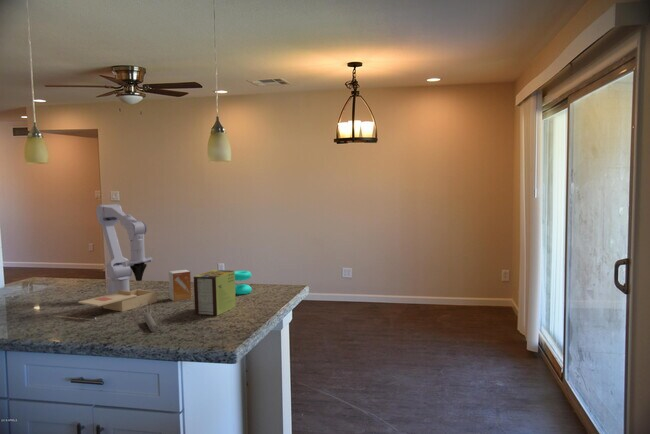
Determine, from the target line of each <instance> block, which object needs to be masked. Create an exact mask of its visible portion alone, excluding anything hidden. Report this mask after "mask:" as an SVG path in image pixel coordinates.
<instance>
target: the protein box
mask: <svg viewBox="0 0 650 434" xmlns="http://www.w3.org/2000/svg"><path fill="white" fill-rule="evenodd" d="M235 271H236V270H230V269H229V270H225V269H224V270H223V269H212V270H209V271H205V272H202V273H199V274H197V275H194V276H193V293H194V314H195V315H201V316H203V315H204V316H213V317H214V316H216V317H217V316H219V315H222V314H224V313H225V312H228V311H230V310H232V309H235V308H236V306H237V305H236V304H237V303H236V295H235V285H236V280H235Z"/></svg>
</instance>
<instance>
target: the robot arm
mask: <svg viewBox="0 0 650 434" xmlns="http://www.w3.org/2000/svg"><path fill="white" fill-rule="evenodd" d="M95 208H96V210H95V215H96V219H97V222H98V224H99V225H100V226H101V228H102V232H103V234H104V238H105V242H106V246H107V250H108V253H109V257H110V261H108V263H107V265H106V272H107V277H108V279H110V280H108V282H107V295H108V294H112V293H116V292H118V290H126V291H131V290H130V279H131V277H133V275H134V278H135V281H136V282H141V281H142V280H143V275H144V272H145V270H146V269H147V266H148V265H147V263H153V261H154V259H153V257H150V256H149V257H146V253H145V251H146V249H145V248H146V247H145V235H146V233H147V225H146V223H145V221H143V220H142V221H138V220H137V219H136V218H135V217H134V216H132V214H126V213H125V212H124V211H123V208H122V206H121V205H120V203H115V204H98V205H97V206H96V207H95ZM118 223H120V225H121V226H122V227H123V228H124V229H126V232H127V235H128V240H129V242H130V243H129V244H130V245H129V246H130V260H129V259H128V258H126V257H124V256H123V253H122V249H121V247H120V242H119V239H118V235H117V232H116V228H115V225H116V224H118Z"/></svg>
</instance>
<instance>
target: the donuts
mask: <svg viewBox="0 0 650 434" xmlns="http://www.w3.org/2000/svg"><path fill="white" fill-rule="evenodd" d="M234 271H235V282H236V281H239V282H240V281H242V282H243V281H246V280H249V279H250V278H251V277H252V273H251V271H249V270H234ZM252 291H253V289H252V287H251V286H250V285H249V284H246V283H245V284H235V296H241V295H242V294H244V295H248V294H250V293H252Z"/></svg>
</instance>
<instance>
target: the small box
mask: <svg viewBox="0 0 650 434" xmlns="http://www.w3.org/2000/svg"><path fill="white" fill-rule="evenodd" d="M191 279H192V277H191V271H190V270H188V269H181V270H180V269H179V270H171V271H168V286H169V287H168V293H169V300H172V302H177V301H184V300H185V301H186V300H192V282H191Z"/></svg>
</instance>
